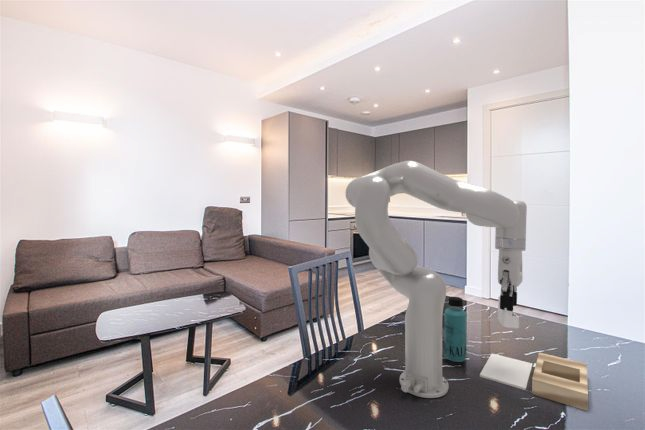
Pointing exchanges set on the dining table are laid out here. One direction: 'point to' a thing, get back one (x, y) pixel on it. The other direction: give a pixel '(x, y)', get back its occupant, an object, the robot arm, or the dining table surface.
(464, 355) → the beverage bottle
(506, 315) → the white angled block
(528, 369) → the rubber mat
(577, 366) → the block
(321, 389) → the dining table surface
